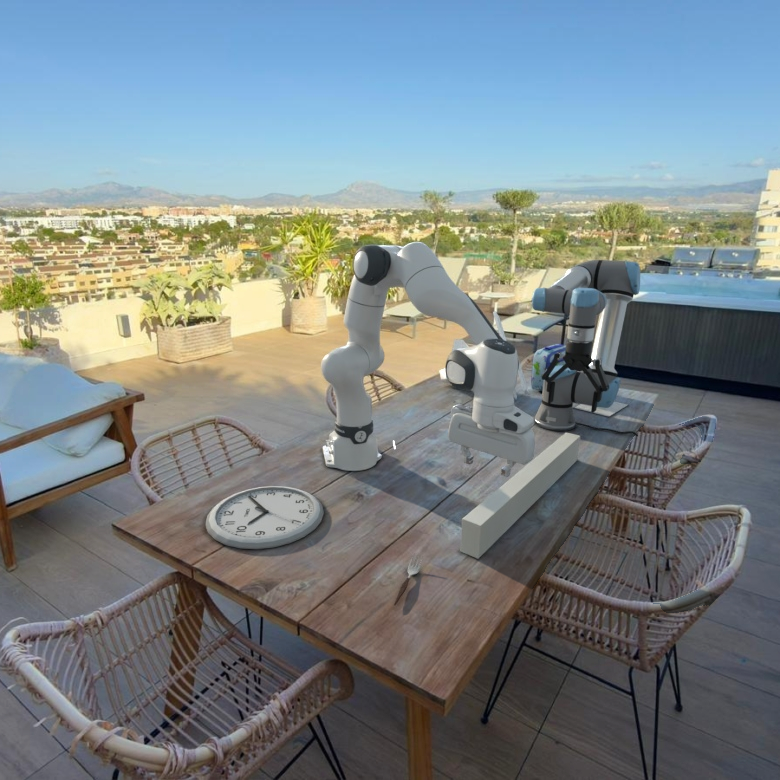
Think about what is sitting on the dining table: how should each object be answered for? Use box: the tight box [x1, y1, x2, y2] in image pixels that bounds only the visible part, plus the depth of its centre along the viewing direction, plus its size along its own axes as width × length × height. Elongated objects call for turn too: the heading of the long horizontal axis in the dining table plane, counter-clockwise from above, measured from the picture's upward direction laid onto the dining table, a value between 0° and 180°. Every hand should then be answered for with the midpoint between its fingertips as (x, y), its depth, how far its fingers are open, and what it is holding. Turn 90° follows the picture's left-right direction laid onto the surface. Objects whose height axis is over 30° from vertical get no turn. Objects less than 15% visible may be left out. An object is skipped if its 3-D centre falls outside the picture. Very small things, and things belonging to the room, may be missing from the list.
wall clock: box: [205, 485, 325, 550], centre depth 137 cm, size 30×2×30 cm
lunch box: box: [530, 343, 566, 392], centre depth 248 cm, size 26×11×21 cm, turn 134°
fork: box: [393, 553, 424, 606], centre depth 112 cm, size 3×16×2 cm, turn 160°
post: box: [459, 431, 581, 560], centre depth 147 cm, size 69×5×9 cm, turn 143°
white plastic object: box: [438, 310, 531, 400], centre depth 245 cm, size 37×45×31 cm
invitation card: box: [573, 401, 629, 418], centre depth 226 cm, size 21×1×15 cm
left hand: (486, 469), depth 120 cm, fingers open, 8 cm apart
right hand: (571, 406), depth 165 cm, fingers open, 13 cm apart
